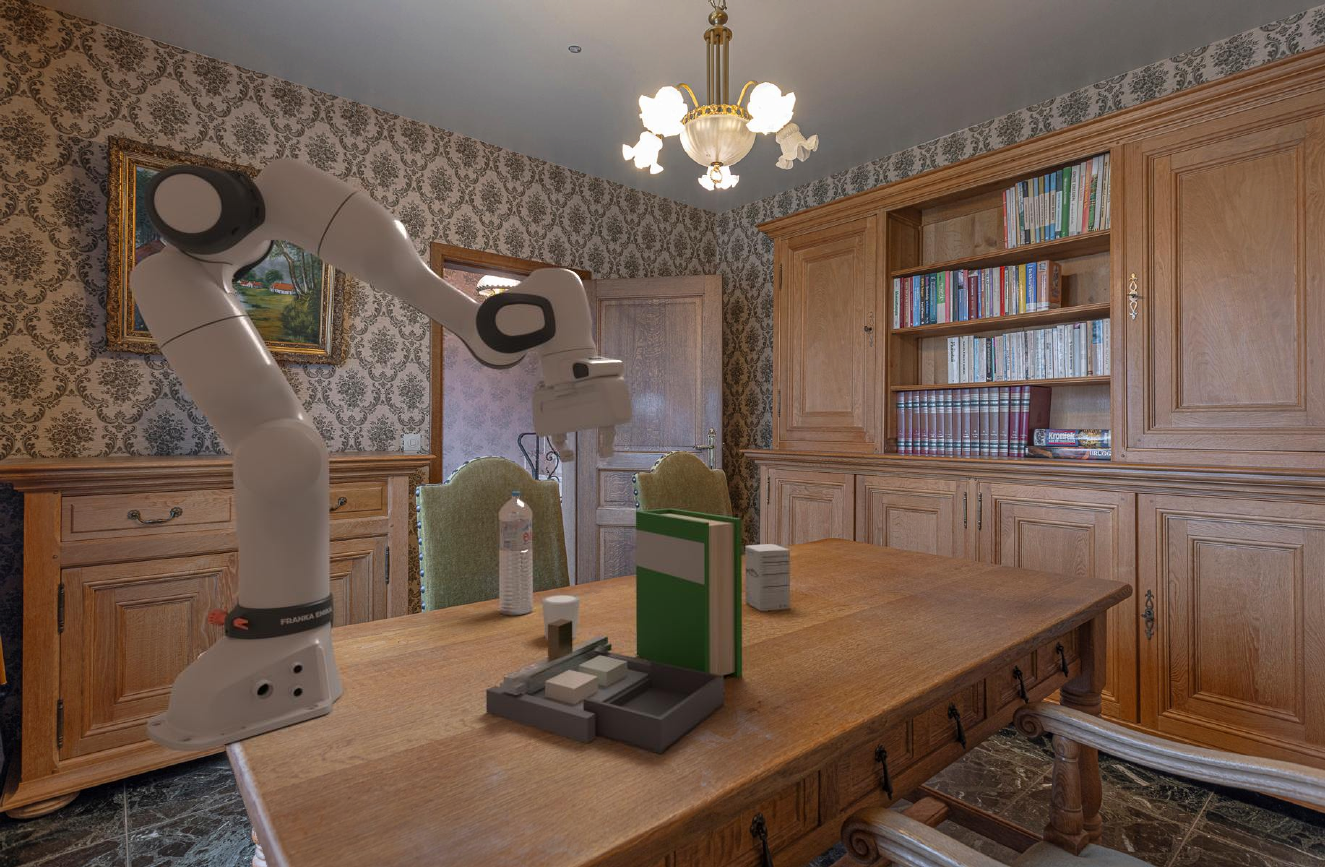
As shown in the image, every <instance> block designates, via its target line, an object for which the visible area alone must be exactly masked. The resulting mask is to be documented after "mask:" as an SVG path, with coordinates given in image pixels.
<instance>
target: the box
mask: <svg viewBox="0 0 1325 867" xmlns="http://www.w3.org/2000/svg"><path fill="white" fill-rule="evenodd" d="M724 701H725V700H724V675H723V676H721V675H716V674H712V673H707V672H702V671H698V670H693V669H688V668H683V667H679V666H674V665H669V664H665V663H660V662H655V661H652V662H651V677H648V678H646V679H645V680H643V681H641V682H640V683H638V684H636V685H634V686H633V687H631V688H629V689H628V690H626V691H624V692H622V693H621V694H619V695H617V696H616V697H614V698H612V699H610V700H609V701H607V702H601V701H598V700H594V699H590V698H585V699H583V710H584V711H588V712H592V713H595V736H599V737H601V738H604V739H607V740H612V741H614V742H619V743H621V744H624V745H628V746H632V747H635V748H638V749H642V750H645V751H648V752H651V753H655V754H659V755H663V754H664V753H665V752H667V751H668V750H669V749H670V748H672V747H673V746H674V745H675V744H676V743H678V742H679V741H681V740H682V739H683V738H684V737H685V736H686V735H689V733H690V732H692V731H693V730H695V729H696V727H698V726H700V725H701V724H702V723H703V722H705V721H706V720H707V719H708V718H710V717H711V716H712V715H714V714H715V713H716V712H717V711H718V710H720V709H721V708H723V706H724V704H725V703H724Z"/></svg>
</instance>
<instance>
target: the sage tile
mask: <svg viewBox="0 0 1325 867" xmlns="http://www.w3.org/2000/svg"><path fill="white" fill-rule="evenodd" d="M578 672H581V673H585V674H589V675H593V676H597V677H598V684H599V685H603V686H609V685H610V684H612V683H614V682H616V681H618V680H619V679H621V678H623V677H625V676H627V661H624V660H619V659H614V658H610V657H605V656H601V655H599V656H597V657H595V658H593V659H591V660H589V661H587V662H585V663H583V664H580V665H578Z"/></svg>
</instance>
